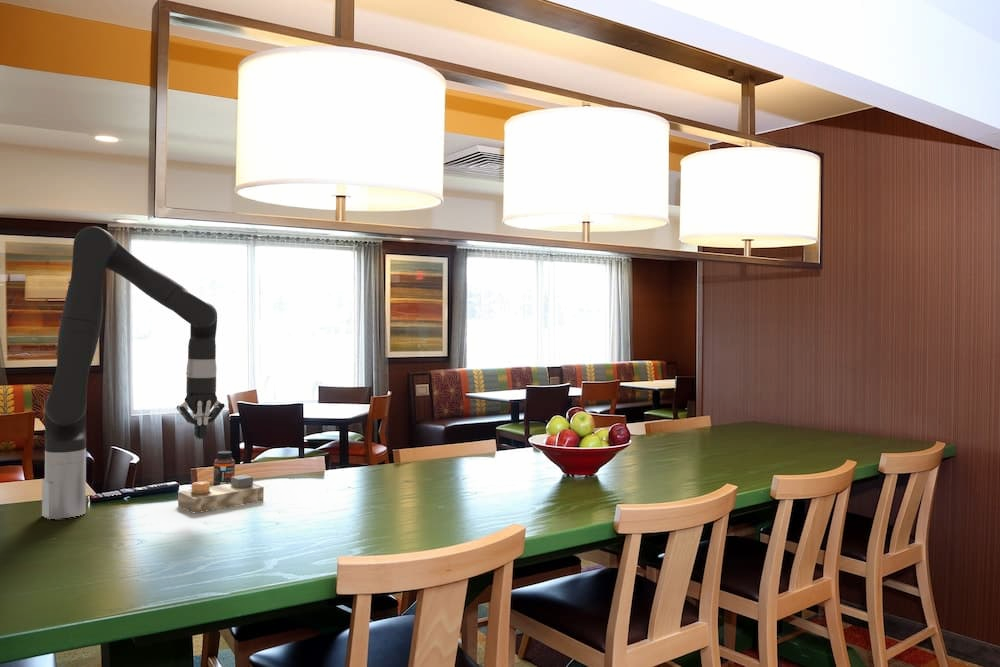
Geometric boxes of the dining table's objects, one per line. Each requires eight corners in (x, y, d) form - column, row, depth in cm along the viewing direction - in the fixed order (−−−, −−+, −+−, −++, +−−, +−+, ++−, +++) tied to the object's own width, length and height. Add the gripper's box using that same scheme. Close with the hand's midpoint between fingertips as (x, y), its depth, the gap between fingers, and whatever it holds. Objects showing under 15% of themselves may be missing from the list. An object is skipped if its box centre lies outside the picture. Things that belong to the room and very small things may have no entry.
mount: (194, 513, 197) (194, 498, 197) (178, 506, 204) (178, 491, 204) (263, 500, 212) (263, 486, 212) (246, 494, 219) (246, 480, 218)
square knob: (238, 502, 209) (238, 479, 209) (230, 498, 212) (231, 476, 212) (252, 499, 212) (253, 477, 212) (245, 496, 215) (245, 474, 215)
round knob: (195, 509, 200) (196, 486, 200) (188, 506, 204) (188, 483, 203) (212, 506, 204) (212, 483, 203) (204, 503, 207) (205, 480, 207)
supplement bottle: (227, 492, 221) (227, 454, 220) (209, 490, 222) (209, 453, 221) (238, 487, 226) (238, 450, 226) (220, 486, 228) (221, 449, 227)
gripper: (183, 377, 195) (182, 443, 196) (231, 375, 205) (229, 438, 205) (171, 375, 200) (170, 439, 201) (218, 373, 210) (217, 434, 210)
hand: (200, 438), depth 203 cm, fingers closed
